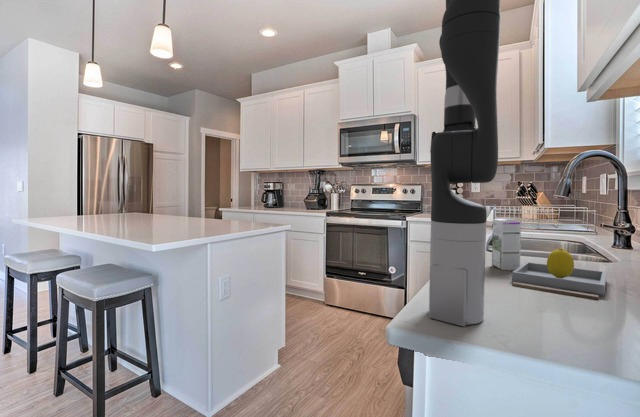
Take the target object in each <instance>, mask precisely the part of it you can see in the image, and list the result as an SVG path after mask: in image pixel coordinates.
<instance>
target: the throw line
mask: <svg viewBox="0 0 640 417" xmlns="http://www.w3.org/2000/svg"><path fill="white" fill-rule="evenodd" d="M511 285H512V286H513V287H520V288H524V289H525V288H526V289H531V290H536V291H537V290H538V291H542V292H543V291H544V292H549V293H555V294H561V295H566V296H567V295H568V296H573V297H579V298H585V299H591V300H597V301H598V300H599V297H600V296H599V295H594V294H587V293H581V292H575V291H569V290H562V289H556V288H550V287H544V286H538V285H531V284H525V283H519V282H512V283H511Z"/></svg>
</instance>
